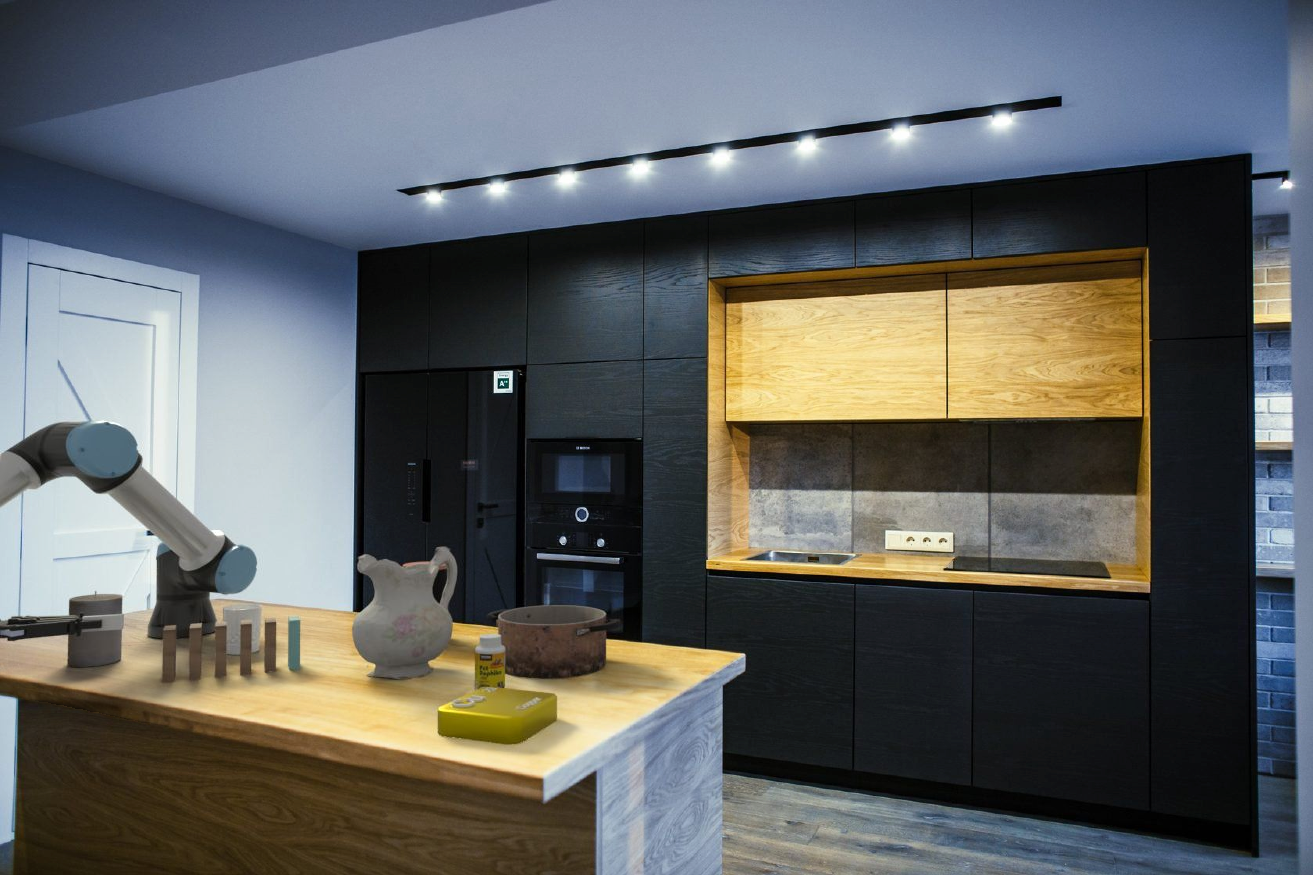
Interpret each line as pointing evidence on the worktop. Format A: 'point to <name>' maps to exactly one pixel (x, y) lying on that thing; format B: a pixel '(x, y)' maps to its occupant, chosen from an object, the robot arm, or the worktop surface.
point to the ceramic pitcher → (404, 616)
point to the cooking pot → (553, 640)
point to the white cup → (234, 618)
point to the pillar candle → (95, 632)
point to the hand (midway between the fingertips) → (123, 621)
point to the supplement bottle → (490, 662)
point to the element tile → (497, 715)
